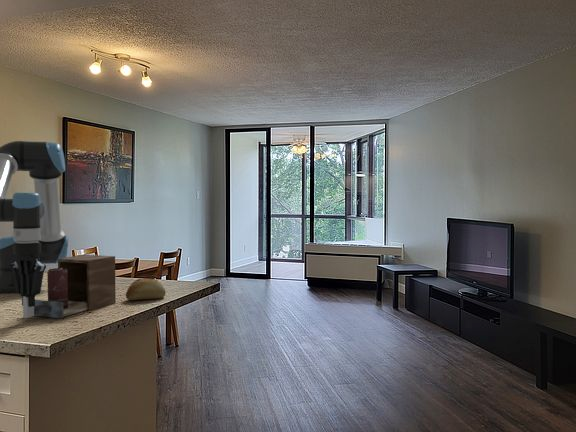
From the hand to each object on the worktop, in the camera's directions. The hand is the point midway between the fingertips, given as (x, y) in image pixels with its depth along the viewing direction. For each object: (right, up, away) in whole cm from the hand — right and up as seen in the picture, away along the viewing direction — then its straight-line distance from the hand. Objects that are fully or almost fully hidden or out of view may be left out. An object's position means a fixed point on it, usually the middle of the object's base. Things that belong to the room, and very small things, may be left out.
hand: (28, 316), depth 149 cm
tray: (+4, -1, +10) cm, 11 cm away
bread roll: (+27, -1, +34) cm, 43 cm away
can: (+4, 0, +11) cm, 12 cm away
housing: (+9, -1, +23) cm, 25 cm away
